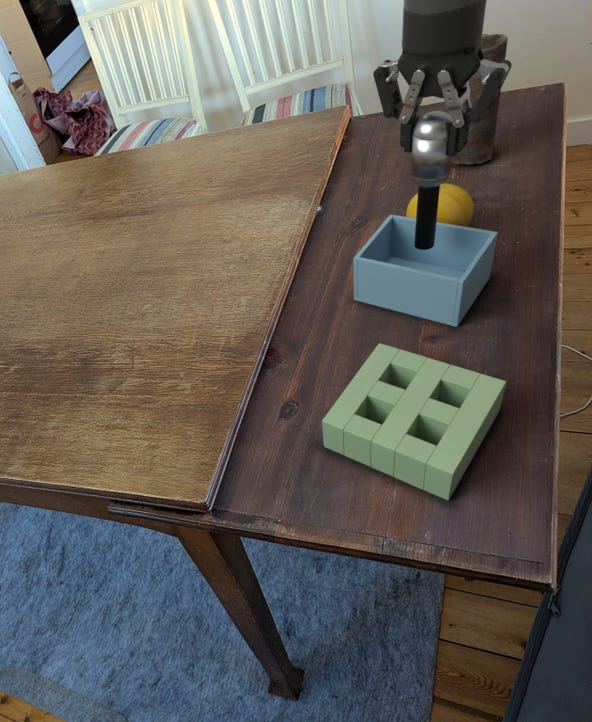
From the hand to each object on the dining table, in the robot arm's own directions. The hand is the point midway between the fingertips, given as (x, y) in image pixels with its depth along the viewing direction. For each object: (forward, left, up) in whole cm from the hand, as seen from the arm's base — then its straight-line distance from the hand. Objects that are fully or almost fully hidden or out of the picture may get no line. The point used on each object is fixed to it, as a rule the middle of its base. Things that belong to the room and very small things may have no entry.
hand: (431, 150), depth 73 cm
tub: (0, 0, -21) cm, 21 cm away
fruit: (+3, -13, -22) cm, 25 cm away
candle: (+7, -35, -22) cm, 42 cm away
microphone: (0, 0, -14) cm, 14 cm away
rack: (-9, +24, -21) cm, 33 cm away
